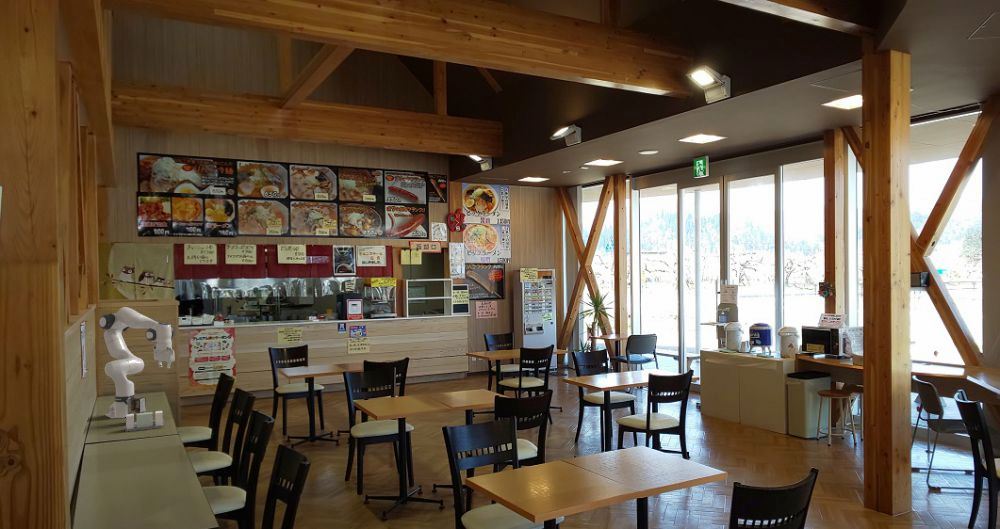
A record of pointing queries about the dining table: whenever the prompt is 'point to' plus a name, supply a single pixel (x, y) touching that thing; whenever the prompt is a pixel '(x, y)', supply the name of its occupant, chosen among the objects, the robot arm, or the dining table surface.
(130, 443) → the dining table surface
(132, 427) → the module rack
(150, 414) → the block
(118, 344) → the robot arm
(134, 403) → the coffee box
